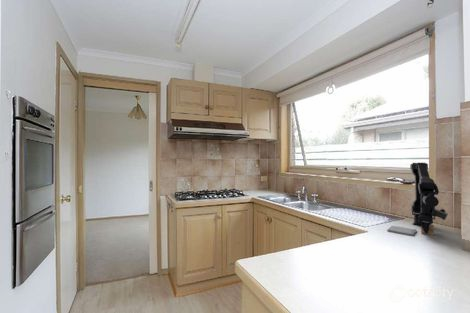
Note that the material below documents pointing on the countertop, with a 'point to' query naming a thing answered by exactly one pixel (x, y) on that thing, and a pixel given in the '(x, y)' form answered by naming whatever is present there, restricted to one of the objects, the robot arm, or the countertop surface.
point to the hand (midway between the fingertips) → (427, 231)
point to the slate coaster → (402, 230)
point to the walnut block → (431, 230)
